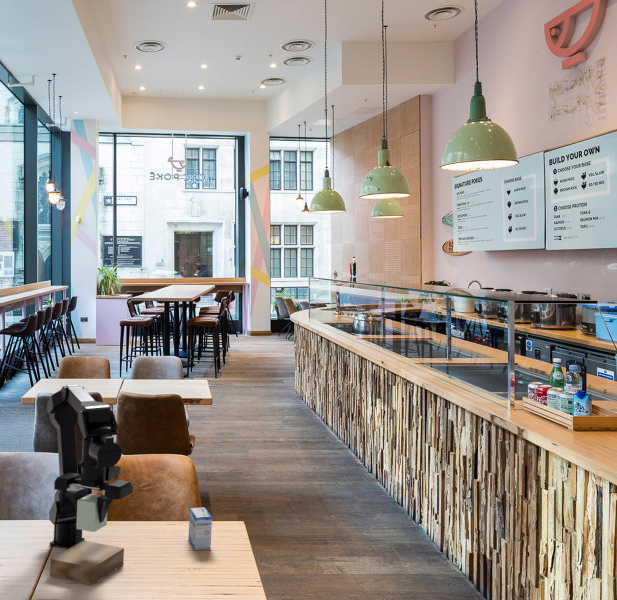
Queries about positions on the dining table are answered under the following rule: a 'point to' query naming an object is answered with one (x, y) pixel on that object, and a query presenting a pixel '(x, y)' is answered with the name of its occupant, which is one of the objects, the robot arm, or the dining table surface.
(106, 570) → the walnut base
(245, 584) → the dining table surface
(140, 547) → the dining table surface
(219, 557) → the dining table surface
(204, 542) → the medicine box
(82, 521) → the sage block
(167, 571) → the dining table surface
